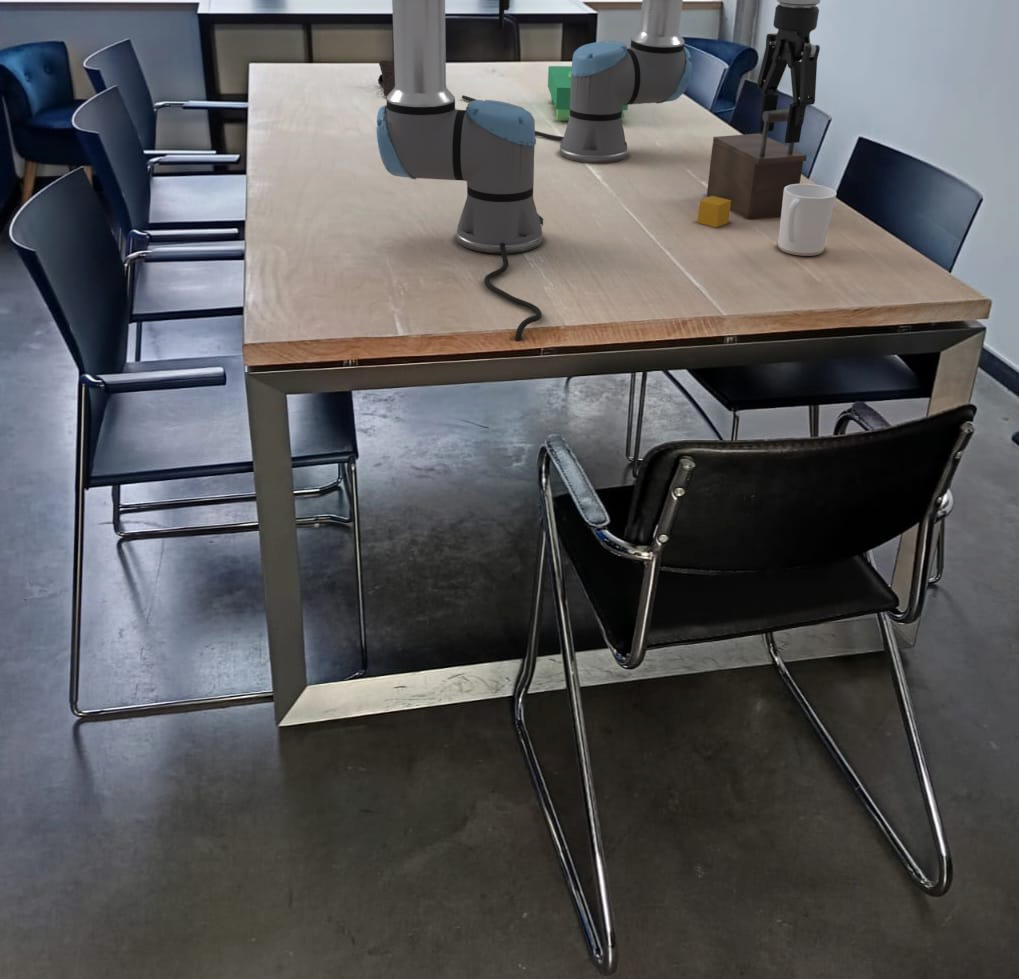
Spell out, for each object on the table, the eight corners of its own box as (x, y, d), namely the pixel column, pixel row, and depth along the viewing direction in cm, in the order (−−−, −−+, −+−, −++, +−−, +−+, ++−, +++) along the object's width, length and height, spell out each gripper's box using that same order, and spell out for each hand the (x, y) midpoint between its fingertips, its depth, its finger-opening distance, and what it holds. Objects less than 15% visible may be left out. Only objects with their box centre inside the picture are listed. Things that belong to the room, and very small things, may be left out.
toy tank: (612, 47, 295) (630, 72, 266) (608, 94, 302) (626, 124, 272) (547, 45, 295) (557, 71, 265) (545, 93, 301) (555, 123, 271)
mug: (789, 236, 200) (798, 180, 195) (834, 247, 195) (845, 190, 190) (760, 251, 193) (769, 193, 188) (807, 263, 188) (817, 204, 183)
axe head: (443, 87, 294) (392, 77, 287) (436, 115, 299) (385, 106, 292) (421, 62, 307) (371, 52, 300) (414, 89, 311) (365, 80, 304)
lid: (806, 161, 206) (814, 111, 201) (757, 165, 203) (764, 114, 198) (758, 138, 220) (765, 91, 215) (712, 142, 217) (718, 94, 212)
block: (728, 222, 207) (731, 200, 205) (716, 227, 205) (719, 205, 202) (709, 217, 210) (712, 195, 207) (697, 222, 207) (699, 200, 205)
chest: (794, 214, 212) (803, 160, 207) (747, 219, 209) (755, 164, 204) (751, 191, 225) (758, 139, 220) (706, 195, 222) (712, 142, 217)
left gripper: (534, -91, 215) (530, 25, 226) (409, -94, 217) (412, 20, 229) (530, -88, 209) (526, 31, 220) (401, -92, 211) (405, 26, 222)
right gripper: (851, 13, 185) (828, 149, 197) (783, -4, 202) (766, 122, 214) (813, 14, 183) (792, 152, 195) (748, -3, 200) (732, 124, 212)
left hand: (468, 26), depth 224 cm, fingers open, 13 cm apart
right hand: (778, 136), depth 204 cm, fingers open, 8 cm apart
